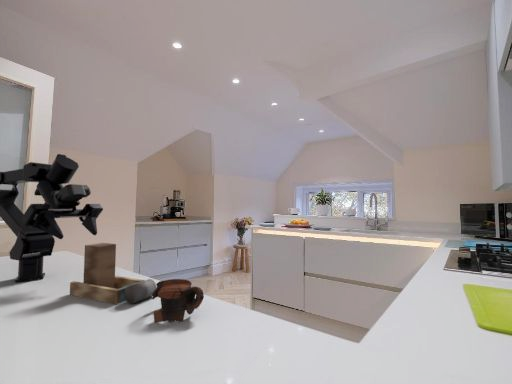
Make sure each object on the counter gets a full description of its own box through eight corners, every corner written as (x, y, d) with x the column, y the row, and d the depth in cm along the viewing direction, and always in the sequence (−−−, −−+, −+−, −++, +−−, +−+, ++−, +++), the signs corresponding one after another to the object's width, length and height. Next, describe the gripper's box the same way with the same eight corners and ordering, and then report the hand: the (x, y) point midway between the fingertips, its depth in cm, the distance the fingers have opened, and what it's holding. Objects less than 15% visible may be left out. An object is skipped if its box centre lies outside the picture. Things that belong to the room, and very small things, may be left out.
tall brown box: (83, 293, 69) (84, 245, 70) (101, 287, 74) (102, 242, 74) (96, 296, 67) (98, 246, 68) (114, 290, 72) (116, 244, 72)
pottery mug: (137, 325, 53) (142, 281, 57) (166, 329, 60) (169, 290, 65) (193, 316, 50) (194, 271, 54) (216, 321, 58) (215, 281, 62)
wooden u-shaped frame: (69, 294, 68) (70, 278, 68) (102, 284, 76) (102, 270, 76) (131, 307, 60) (132, 288, 60) (160, 294, 68) (161, 278, 69)
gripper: (30, 171, 68) (57, 216, 63) (99, 177, 85) (124, 213, 80) (11, 203, 71) (35, 248, 66) (81, 203, 88) (105, 239, 83)
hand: (79, 236), depth 74 cm, fingers open, 9 cm apart
